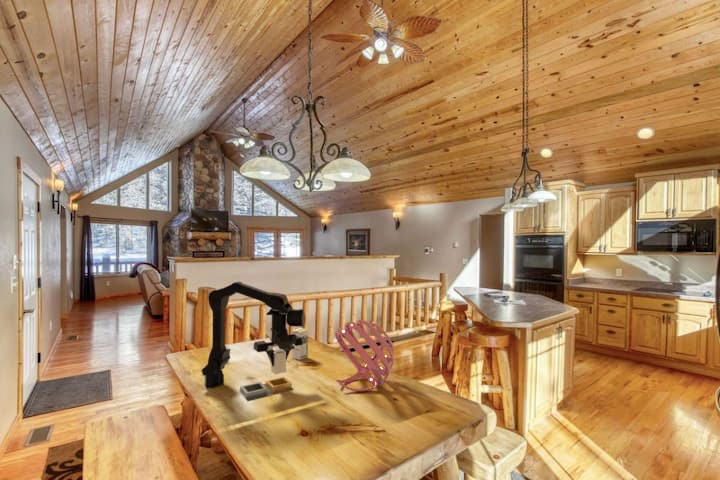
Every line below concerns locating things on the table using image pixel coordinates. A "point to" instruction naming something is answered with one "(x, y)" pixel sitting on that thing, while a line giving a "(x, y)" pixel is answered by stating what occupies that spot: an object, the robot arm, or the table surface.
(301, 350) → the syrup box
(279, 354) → the plug
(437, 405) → the table surface
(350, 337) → the slotted curved sculpture
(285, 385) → the panel
